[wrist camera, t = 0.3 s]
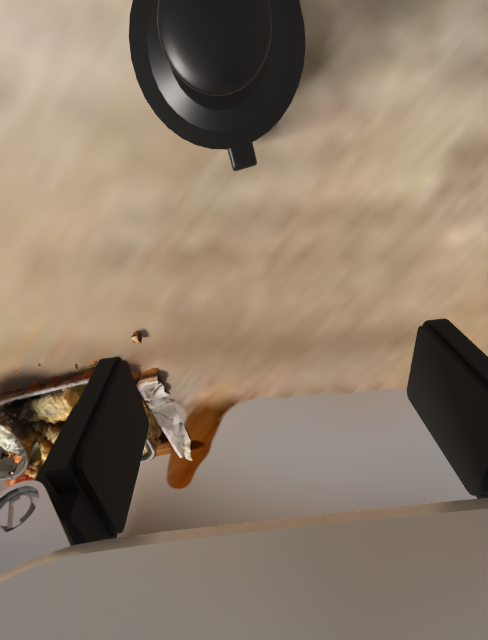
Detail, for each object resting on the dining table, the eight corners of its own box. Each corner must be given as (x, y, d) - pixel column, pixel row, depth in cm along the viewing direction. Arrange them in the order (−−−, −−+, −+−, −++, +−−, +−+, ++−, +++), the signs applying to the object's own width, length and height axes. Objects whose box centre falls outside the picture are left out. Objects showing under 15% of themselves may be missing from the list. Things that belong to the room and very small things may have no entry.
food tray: (9, 481, 62) (-28, 544, 53) (-91, 375, 49) (-165, 436, 40) (195, 446, 59) (190, 507, 50) (142, 325, 46) (120, 378, 37)
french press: (152, 24, 30) (4, -154, 10) (257, -13, 29) (323, -290, 9) (196, 166, 36) (160, 230, 16) (284, 140, 35) (361, 173, 15)
